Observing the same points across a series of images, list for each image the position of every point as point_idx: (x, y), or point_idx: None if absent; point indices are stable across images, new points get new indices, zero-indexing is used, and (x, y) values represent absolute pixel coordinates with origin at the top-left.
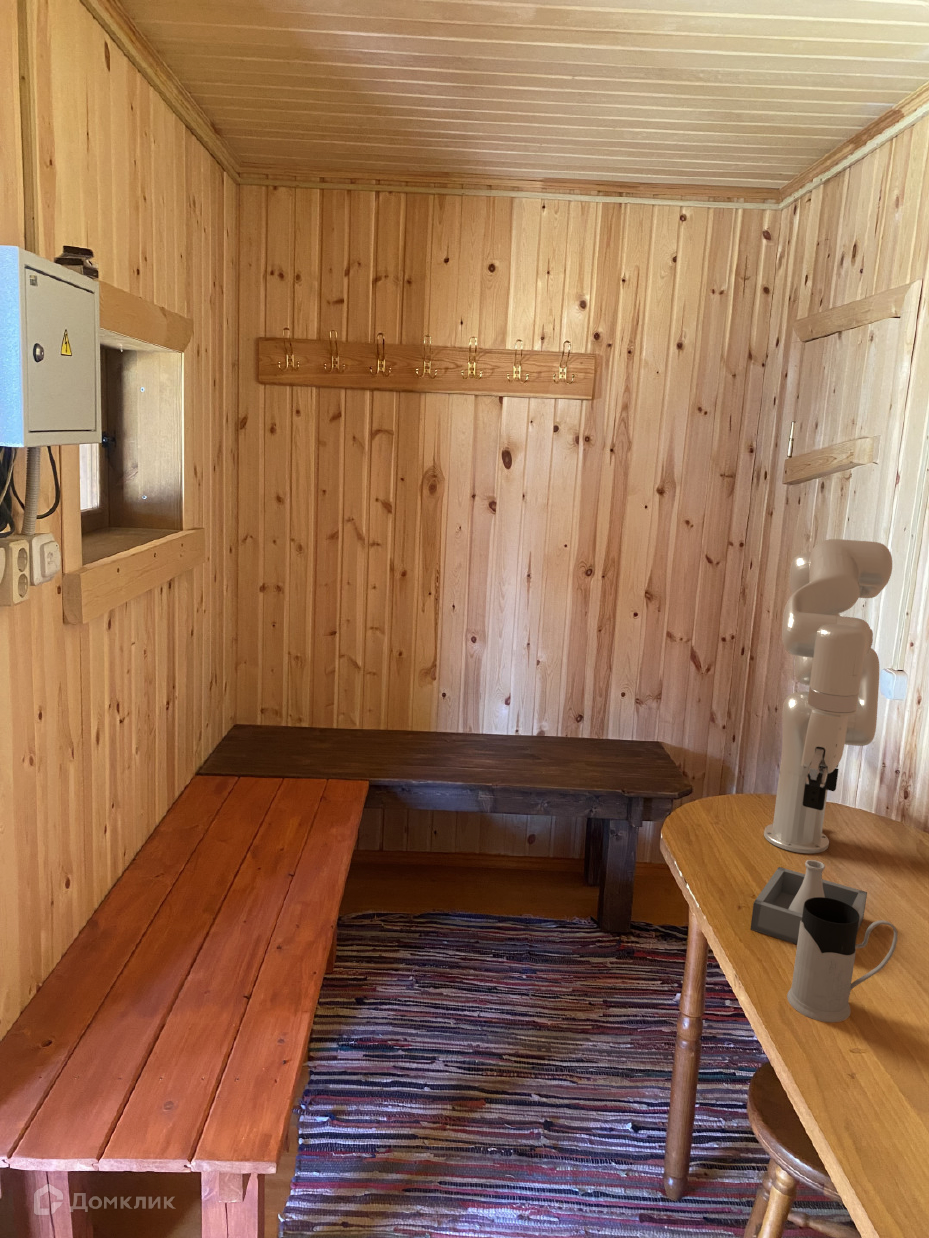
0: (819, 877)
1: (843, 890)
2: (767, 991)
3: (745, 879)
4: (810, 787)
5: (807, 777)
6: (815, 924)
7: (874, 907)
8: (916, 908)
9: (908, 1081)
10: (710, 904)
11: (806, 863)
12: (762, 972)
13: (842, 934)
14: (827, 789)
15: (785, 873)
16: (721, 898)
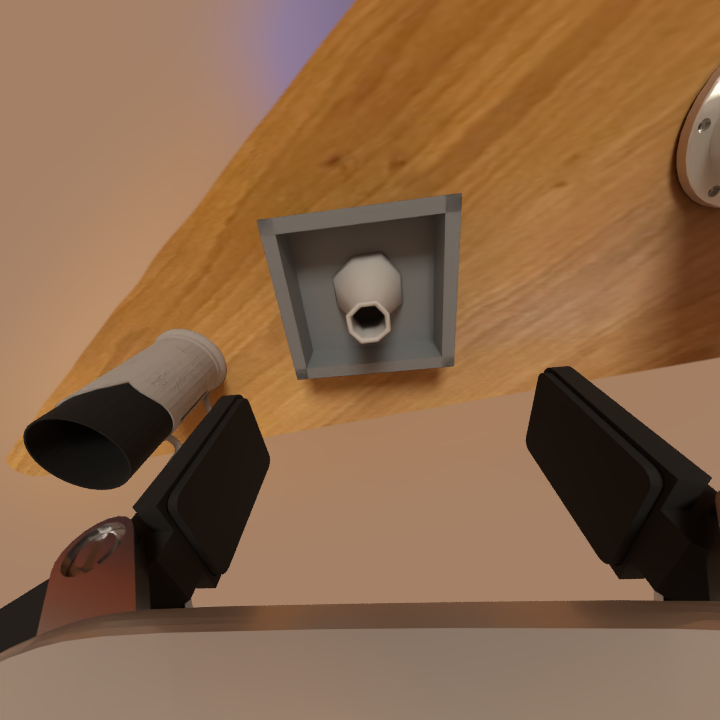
0: (360, 328)
1: (441, 332)
2: (151, 308)
3: (464, 109)
4: (136, 524)
5: (54, 590)
6: (40, 436)
7: (489, 347)
8: (520, 389)
9: (159, 448)
10: (298, 99)
11: (356, 307)
12: (183, 286)
13: (80, 463)
14: (530, 419)
15: (444, 217)
16: (340, 107)
